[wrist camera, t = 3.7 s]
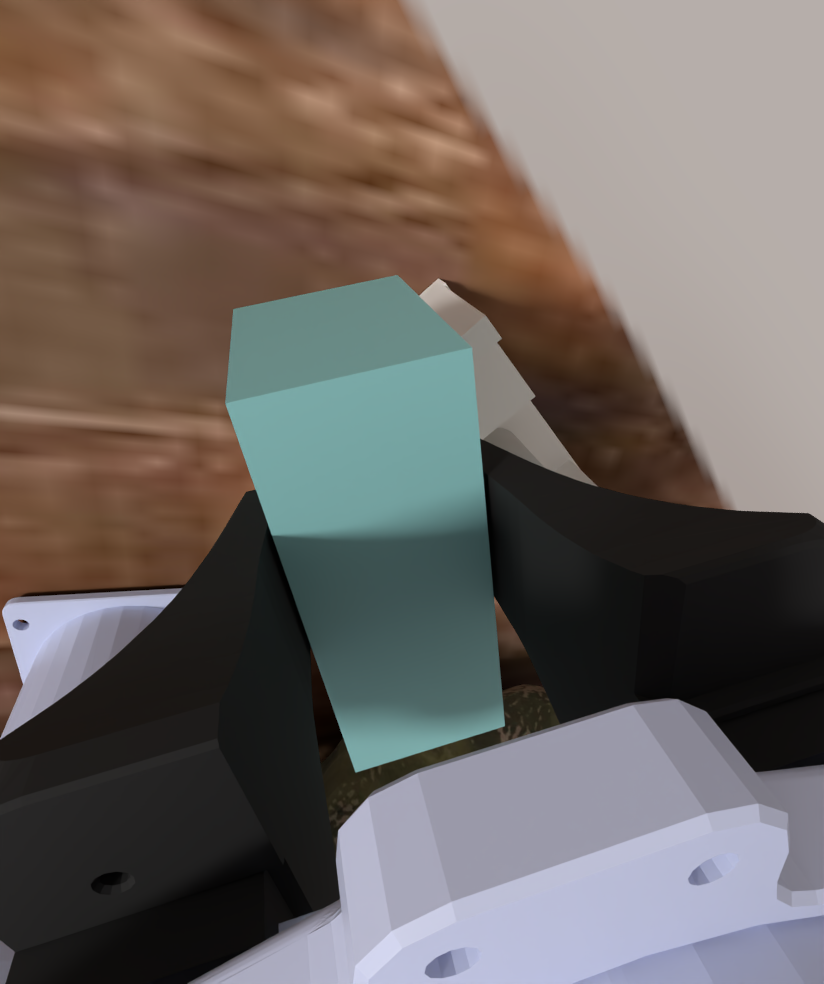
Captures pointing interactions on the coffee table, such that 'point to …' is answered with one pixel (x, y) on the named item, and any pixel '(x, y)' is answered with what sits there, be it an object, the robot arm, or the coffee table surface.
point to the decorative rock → (429, 754)
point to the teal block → (375, 507)
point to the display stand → (501, 389)
